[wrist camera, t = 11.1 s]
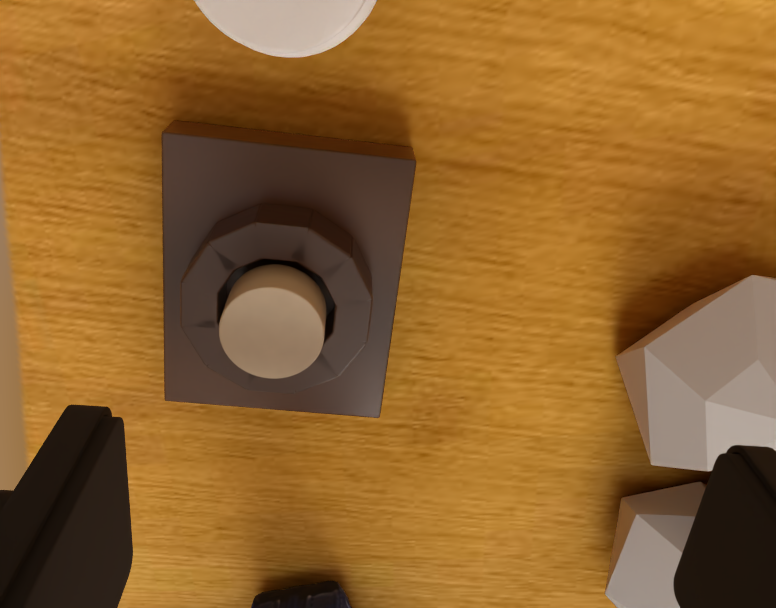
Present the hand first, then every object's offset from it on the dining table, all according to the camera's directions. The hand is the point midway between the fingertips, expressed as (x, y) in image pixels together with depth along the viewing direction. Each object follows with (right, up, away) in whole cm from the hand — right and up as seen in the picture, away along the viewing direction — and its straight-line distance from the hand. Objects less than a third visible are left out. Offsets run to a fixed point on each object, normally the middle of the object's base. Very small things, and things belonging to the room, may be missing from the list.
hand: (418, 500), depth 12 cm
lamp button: (-4, +3, +12) cm, 13 cm away
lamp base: (-4, +4, +15) cm, 16 cm away
